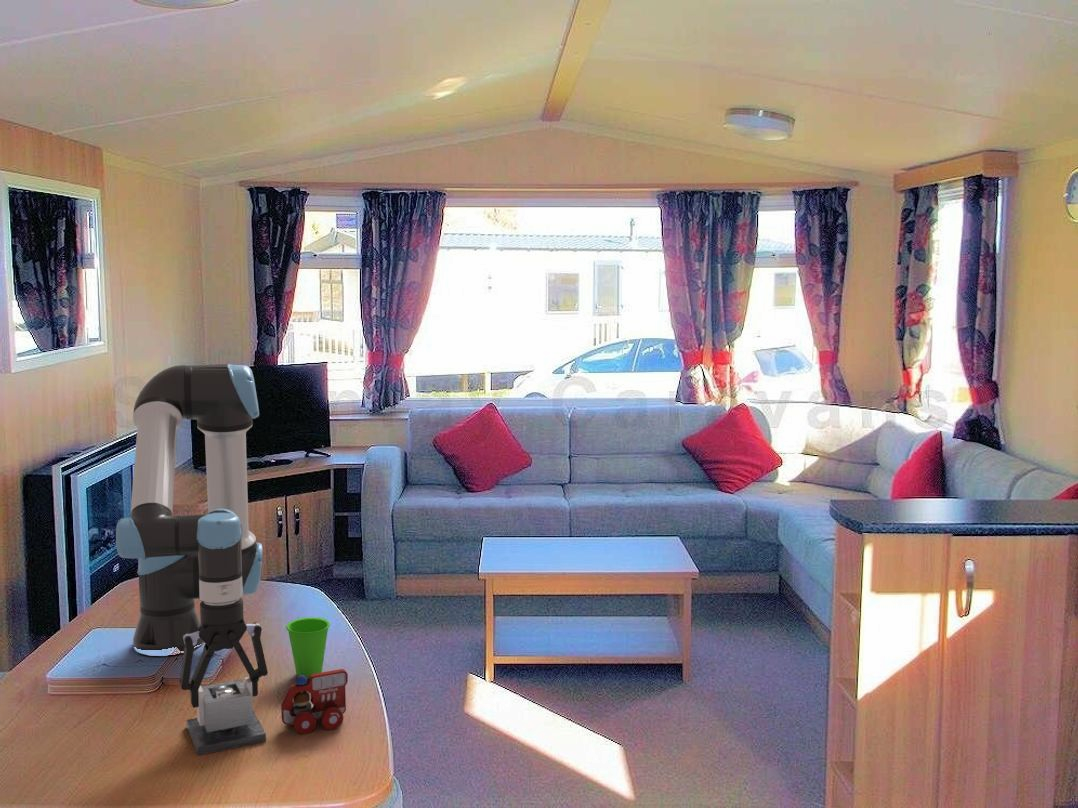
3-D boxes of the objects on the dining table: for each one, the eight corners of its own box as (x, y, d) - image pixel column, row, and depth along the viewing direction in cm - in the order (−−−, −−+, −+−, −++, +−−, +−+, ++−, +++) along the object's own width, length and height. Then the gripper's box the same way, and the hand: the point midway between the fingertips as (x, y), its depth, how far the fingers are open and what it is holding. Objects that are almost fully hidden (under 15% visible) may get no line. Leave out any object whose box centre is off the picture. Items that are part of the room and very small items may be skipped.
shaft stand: (186, 727, 191) (185, 684, 190) (251, 714, 197) (250, 673, 196) (197, 755, 181) (196, 710, 180) (266, 741, 187) (264, 697, 185)
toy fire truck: (279, 722, 194) (277, 670, 193) (343, 712, 199) (343, 661, 198) (284, 738, 188) (283, 684, 186) (351, 727, 193) (350, 675, 191)
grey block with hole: (199, 715, 190) (198, 686, 189) (243, 706, 194) (242, 679, 193) (207, 732, 183) (206, 703, 182) (252, 723, 187) (251, 695, 186)
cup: (320, 685, 211) (319, 634, 209) (279, 680, 213) (278, 630, 211) (337, 668, 220) (336, 619, 218) (298, 664, 221) (297, 615, 220)
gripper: (163, 614, 177) (169, 737, 180) (284, 597, 187) (286, 714, 190) (157, 601, 184) (163, 720, 187) (274, 585, 193) (277, 699, 197)
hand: (225, 717), depth 188 cm, fingers closed on grey block with hole, 8 cm apart
